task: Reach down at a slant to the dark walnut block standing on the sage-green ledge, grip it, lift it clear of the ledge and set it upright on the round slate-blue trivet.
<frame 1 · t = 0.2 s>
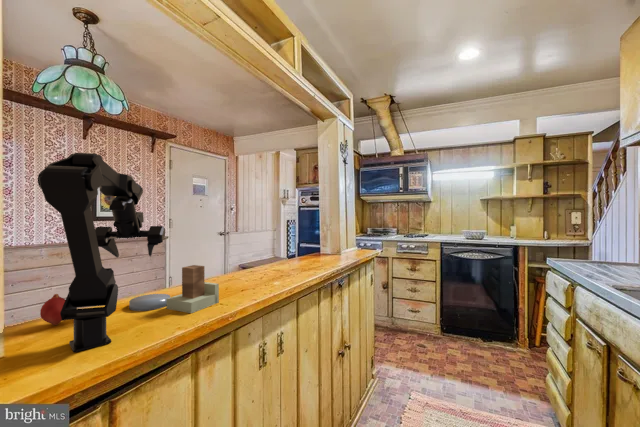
hand: (134, 256, 95), 15 cm above the counter, tool tilted 35°, fingers open, 9 cm apart
trivet: (150, 305, 92), on the counter
walnut block: (193, 295, 92), point 3 cm above the counter, touching ledge
onion: (55, 325, 76), on the counter
ledge: (193, 305, 92), on the counter
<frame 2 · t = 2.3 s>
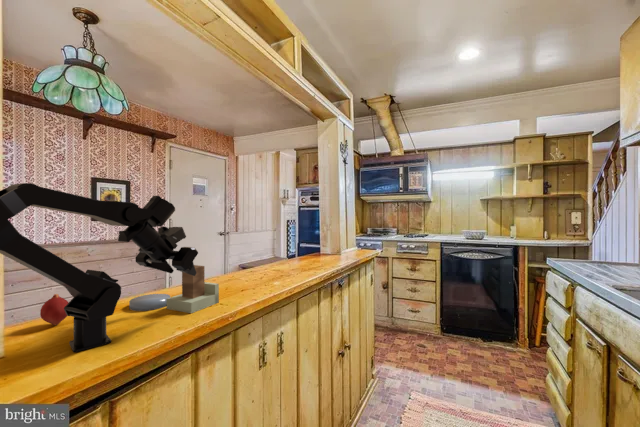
hand: (183, 273, 88), 11 cm above the counter, tool tilted 45°, fingers open, 9 cm apart
nothing on the counter moved.
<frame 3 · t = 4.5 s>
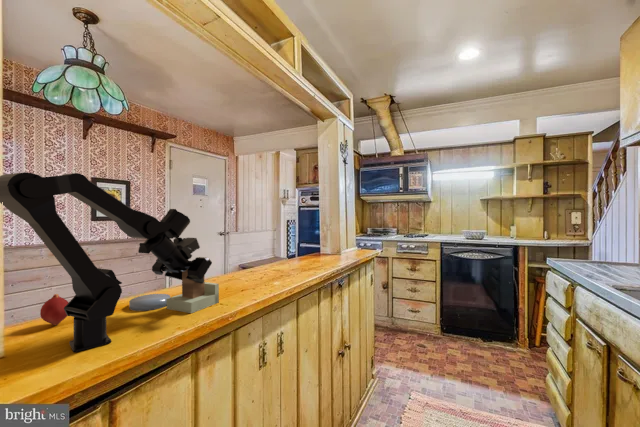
hand: (196, 281, 93), 7 cm above the counter, tool tilted 45°, fingers closed on walnut block, 4 cm apart
walnut block: (193, 295, 92), point 3 cm above the counter, touching gripper, ledge
everything else where it was.
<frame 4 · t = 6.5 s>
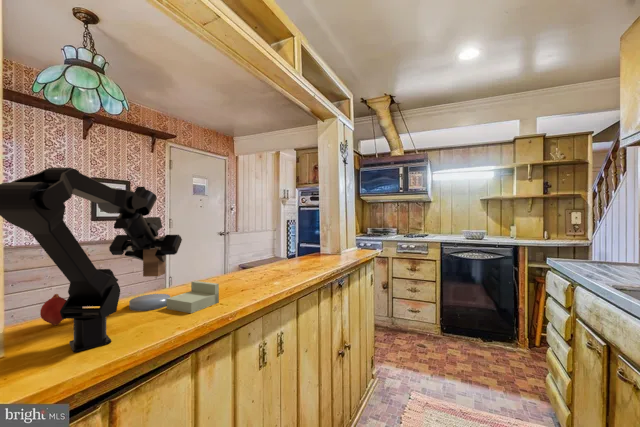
hand: (156, 261, 94), 13 cm above the counter, tool tilted 45°, fingers closed on walnut block, 4 cm apart
walnut block: (154, 274, 92), point 9 cm above the counter, touching gripper
everything else where it was.
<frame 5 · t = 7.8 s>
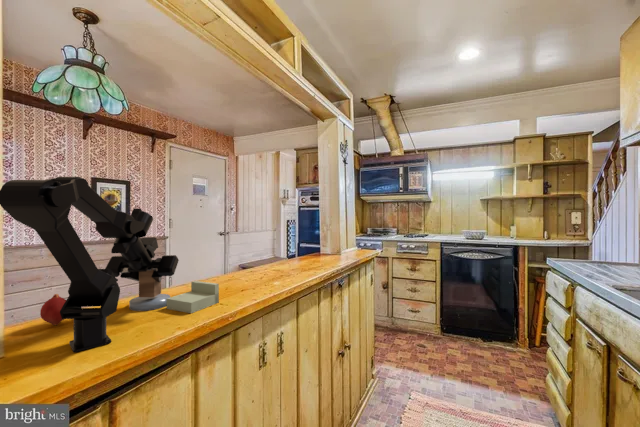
hand: (152, 281, 93), 7 cm above the counter, tool tilted 45°, fingers closed on walnut block, 4 cm apart
walnut block: (150, 295, 92), point 3 cm above the counter, touching gripper
everything else where it was.
when the fingers open (7 cm above the counter, at t = 8.6 s): walnut block stays where it is, resting on trivet.
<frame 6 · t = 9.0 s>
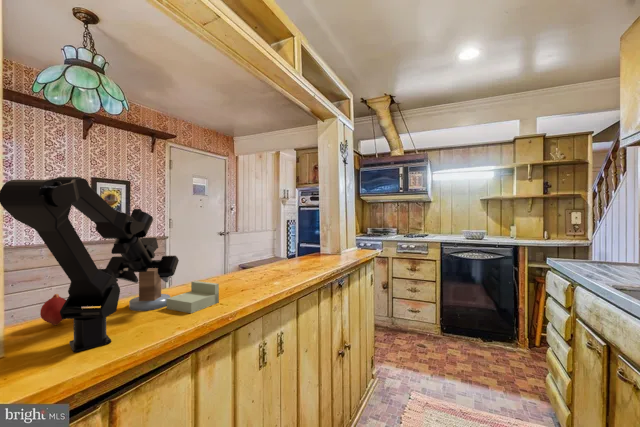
hand: (152, 281, 94), 7 cm above the counter, tool tilted 45°, fingers open, 9 cm apart
walnut block: (150, 298, 92), point 2 cm above the counter, touching trivet
everything else where it was.
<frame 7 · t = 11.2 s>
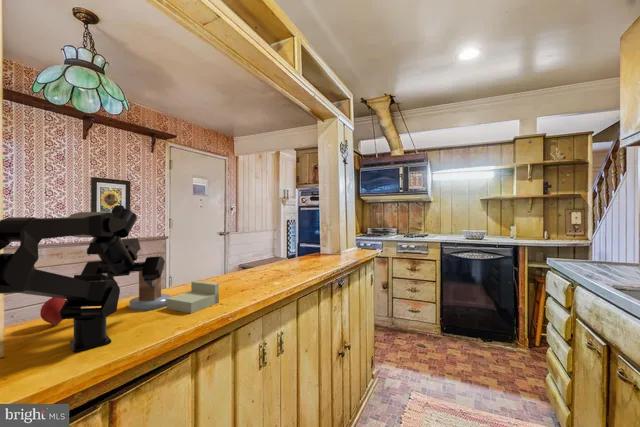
hand: (135, 287, 84), 8 cm above the counter, tool tilted 45°, fingers open, 9 cm apart
nothing on the counter moved.
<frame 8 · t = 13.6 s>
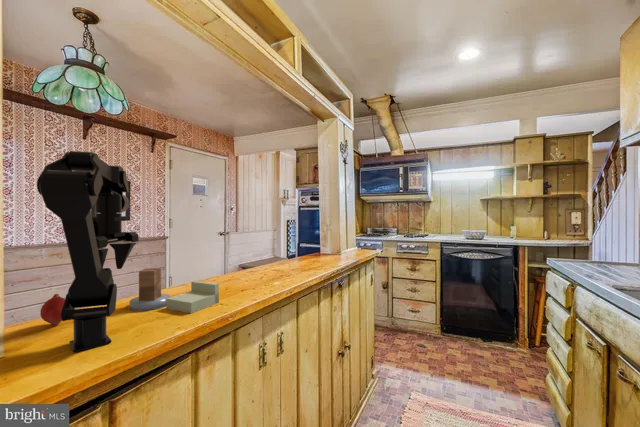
hand: (108, 272, 79), 13 cm above the counter, tool pointing down, fingers open, 9 cm apart
nothing on the counter moved.
at the end: walnut block 0.0 cm off-centre on the trivet, point 2.0 cm above the trivet's base; walnut block tilted 0°; walnut block touching trivet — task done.
